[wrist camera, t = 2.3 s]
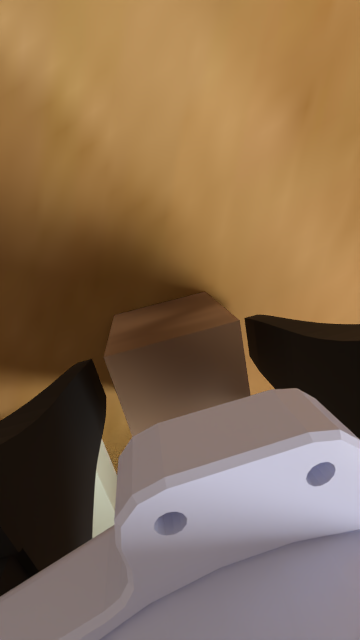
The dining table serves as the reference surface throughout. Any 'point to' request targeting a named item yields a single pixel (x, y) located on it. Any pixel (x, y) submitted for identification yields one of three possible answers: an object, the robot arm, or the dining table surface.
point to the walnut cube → (175, 359)
